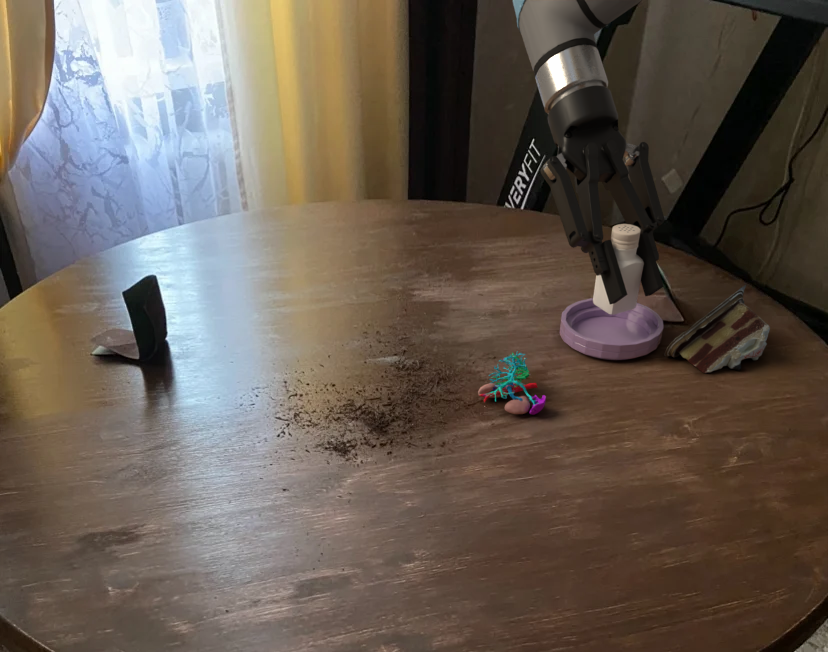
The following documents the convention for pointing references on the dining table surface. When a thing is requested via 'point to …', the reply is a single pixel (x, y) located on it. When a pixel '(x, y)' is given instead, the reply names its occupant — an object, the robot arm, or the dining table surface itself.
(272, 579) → the dining table surface
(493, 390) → the anatomy model
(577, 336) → the dish
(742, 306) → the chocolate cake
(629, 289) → the pepper shaker
